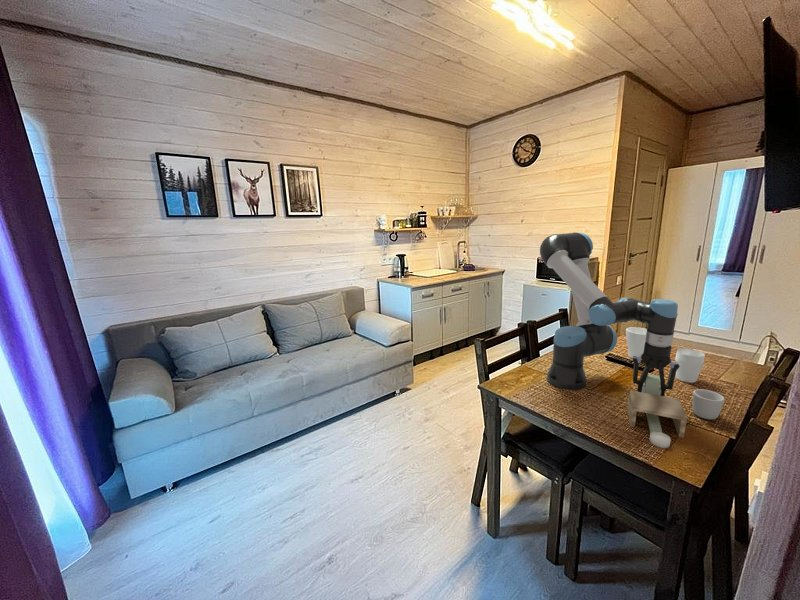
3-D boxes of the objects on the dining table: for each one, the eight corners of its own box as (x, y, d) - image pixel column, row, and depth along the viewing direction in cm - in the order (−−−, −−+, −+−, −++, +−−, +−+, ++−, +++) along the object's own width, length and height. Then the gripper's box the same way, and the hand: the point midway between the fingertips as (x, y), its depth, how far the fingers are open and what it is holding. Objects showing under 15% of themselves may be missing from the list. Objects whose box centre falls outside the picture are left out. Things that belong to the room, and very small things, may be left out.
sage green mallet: (648, 432, 109) (652, 401, 106) (641, 400, 126) (645, 373, 124) (663, 435, 107) (668, 404, 104) (654, 403, 124) (659, 376, 122)
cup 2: (705, 384, 136) (710, 357, 133) (680, 383, 138) (684, 356, 135) (691, 374, 145) (696, 348, 142) (667, 373, 146) (671, 347, 143)
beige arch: (630, 426, 113) (632, 406, 111) (627, 408, 123) (629, 390, 121) (683, 437, 106) (687, 417, 104) (675, 417, 116) (679, 398, 114)
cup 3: (689, 403, 124) (692, 383, 122) (718, 410, 119) (722, 389, 117) (689, 417, 116) (693, 396, 114) (721, 425, 111) (725, 403, 109)
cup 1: (617, 354, 167) (620, 328, 164) (633, 351, 170) (636, 326, 167) (637, 362, 158) (641, 335, 154) (654, 359, 161) (658, 332, 157)
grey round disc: (651, 446, 103) (652, 439, 103) (647, 436, 108) (648, 429, 107) (671, 450, 101) (672, 443, 101) (667, 440, 106) (668, 433, 105)
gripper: (629, 343, 119) (621, 402, 125) (692, 351, 110) (680, 414, 116) (628, 336, 125) (620, 393, 131) (687, 343, 117) (676, 403, 122)
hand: (648, 402), depth 124 cm, fingers closed on sage green mallet, 4 cm apart
